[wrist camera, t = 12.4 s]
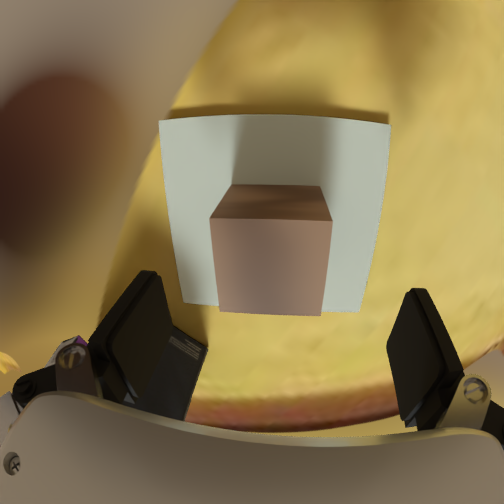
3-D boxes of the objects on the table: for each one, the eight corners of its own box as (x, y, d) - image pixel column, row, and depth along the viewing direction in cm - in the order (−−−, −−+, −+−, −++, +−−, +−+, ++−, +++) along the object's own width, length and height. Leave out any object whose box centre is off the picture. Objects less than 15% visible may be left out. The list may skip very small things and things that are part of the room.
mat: (387, 124, 13) (391, 125, 13) (357, 307, 20) (358, 312, 19) (162, 119, 15) (158, 120, 14) (185, 297, 21) (183, 302, 21)
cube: (319, 186, 15) (333, 221, 11) (314, 262, 18) (320, 316, 13) (231, 184, 16) (209, 218, 12) (235, 259, 18) (219, 311, 14)
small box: (149, 305, 22) (93, 408, 13) (211, 347, 24) (180, 453, 15) (113, 353, 27) (73, 429, 18) (162, 384, 29) (133, 461, 20)
